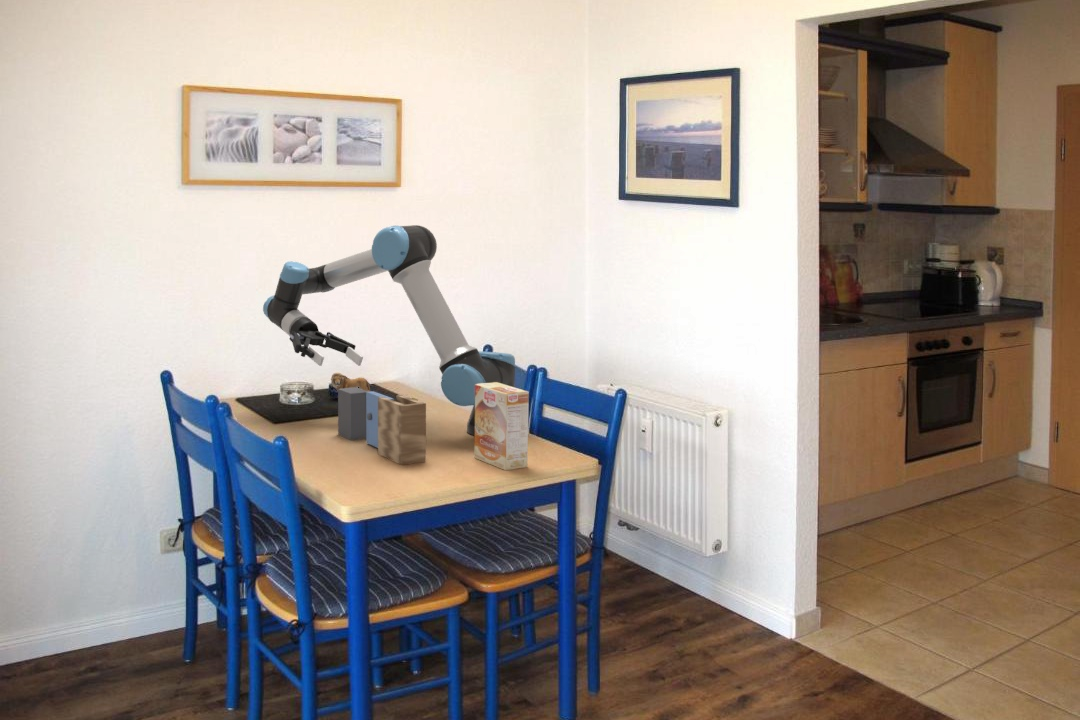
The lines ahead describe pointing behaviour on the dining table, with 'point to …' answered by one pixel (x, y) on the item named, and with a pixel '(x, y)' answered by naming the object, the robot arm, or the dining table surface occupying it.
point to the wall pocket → (402, 429)
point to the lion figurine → (348, 382)
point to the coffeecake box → (501, 425)
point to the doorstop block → (352, 413)
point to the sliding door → (372, 417)
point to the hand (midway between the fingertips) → (341, 361)
